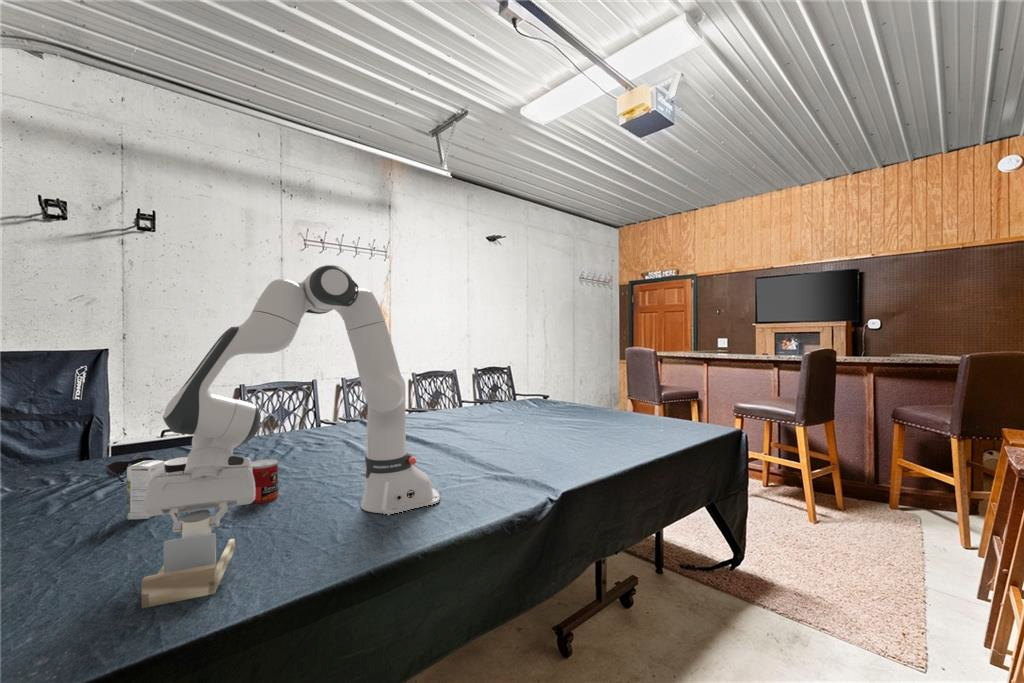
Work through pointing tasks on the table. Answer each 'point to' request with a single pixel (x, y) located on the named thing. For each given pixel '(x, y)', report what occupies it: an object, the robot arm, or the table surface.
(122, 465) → the sunglasses
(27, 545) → the table surface
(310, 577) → the table surface
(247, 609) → the table surface
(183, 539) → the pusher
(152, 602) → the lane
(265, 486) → the canned food
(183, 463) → the dixie cup
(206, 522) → the jar
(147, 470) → the syrup box
